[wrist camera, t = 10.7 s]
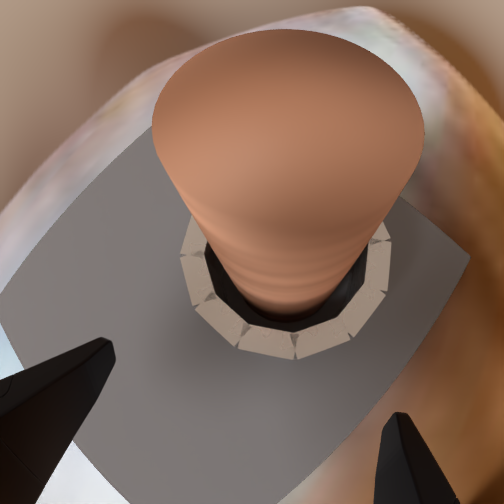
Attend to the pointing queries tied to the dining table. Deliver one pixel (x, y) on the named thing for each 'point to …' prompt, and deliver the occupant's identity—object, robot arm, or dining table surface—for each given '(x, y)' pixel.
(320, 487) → the dining table surface
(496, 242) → the dining table surface
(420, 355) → the dining table surface
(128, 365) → the charcoal mat
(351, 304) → the stone sleeve
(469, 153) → the dining table surface
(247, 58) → the terracotta plug
